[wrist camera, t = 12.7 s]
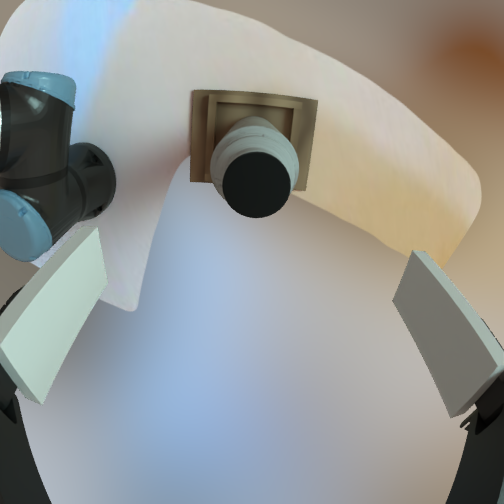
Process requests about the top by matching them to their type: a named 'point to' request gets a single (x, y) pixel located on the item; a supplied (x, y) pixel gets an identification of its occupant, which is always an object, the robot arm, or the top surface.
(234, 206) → the thermos bottle
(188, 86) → the top surface
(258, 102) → the brown wooden tray
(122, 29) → the top surface
